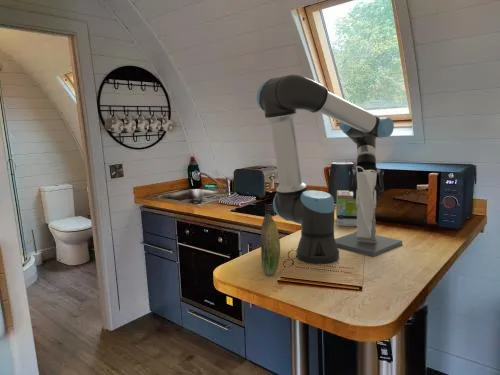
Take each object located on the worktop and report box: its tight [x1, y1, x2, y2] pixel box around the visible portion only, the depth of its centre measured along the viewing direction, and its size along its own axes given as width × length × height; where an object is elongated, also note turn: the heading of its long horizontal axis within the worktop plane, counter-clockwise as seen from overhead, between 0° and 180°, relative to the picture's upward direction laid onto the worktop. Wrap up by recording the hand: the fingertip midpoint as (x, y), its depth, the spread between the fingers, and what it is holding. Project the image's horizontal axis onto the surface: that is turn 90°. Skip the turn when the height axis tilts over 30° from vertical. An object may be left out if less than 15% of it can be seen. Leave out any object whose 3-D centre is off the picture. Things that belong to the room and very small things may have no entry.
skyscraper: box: [355, 165, 378, 241], centre depth 149 cm, size 8×8×28 cm
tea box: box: [335, 190, 359, 227], centre depth 185 cm, size 15×10×15 cm, turn 168°
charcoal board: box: [335, 231, 403, 257], centre depth 152 cm, size 20×20×2 cm
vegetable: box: [260, 213, 281, 276], centre depth 122 cm, size 6×6×20 cm
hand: (365, 205), depth 146 cm, fingers closed on skyscraper, 6 cm apart
